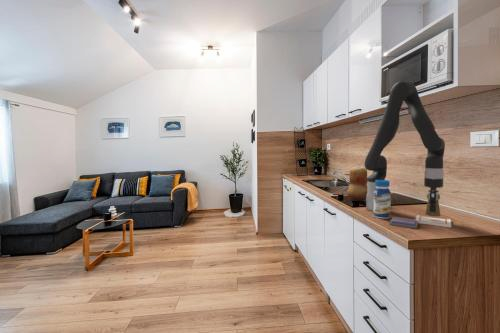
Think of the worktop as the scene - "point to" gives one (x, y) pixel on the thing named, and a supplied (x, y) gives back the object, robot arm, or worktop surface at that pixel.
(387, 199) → the beverage bottle
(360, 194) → the butternut squash
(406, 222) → the ink pad
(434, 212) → the olive rounded piece
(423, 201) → the worktop surface
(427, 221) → the marked board
